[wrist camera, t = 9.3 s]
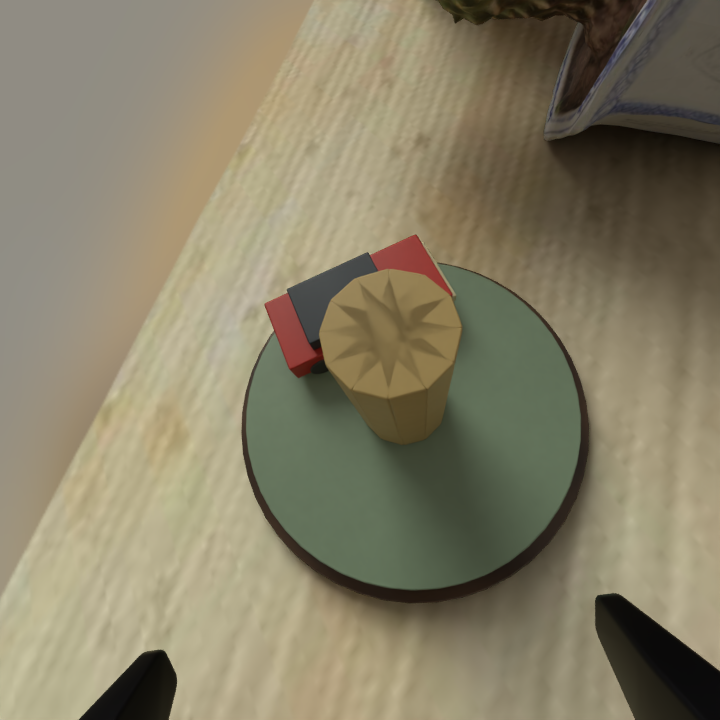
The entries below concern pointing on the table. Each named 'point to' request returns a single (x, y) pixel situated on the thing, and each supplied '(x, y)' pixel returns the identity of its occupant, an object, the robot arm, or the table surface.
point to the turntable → (411, 420)
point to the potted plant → (627, 63)
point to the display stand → (455, 590)
